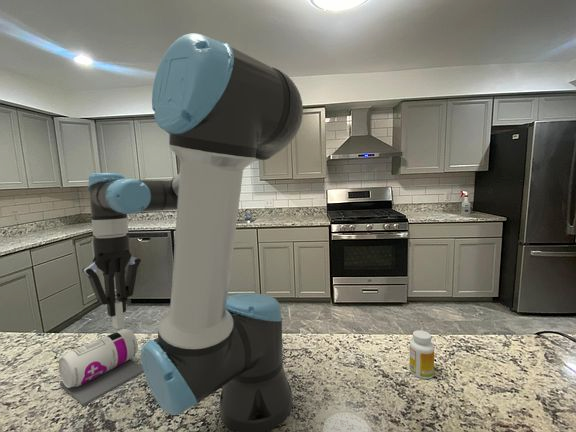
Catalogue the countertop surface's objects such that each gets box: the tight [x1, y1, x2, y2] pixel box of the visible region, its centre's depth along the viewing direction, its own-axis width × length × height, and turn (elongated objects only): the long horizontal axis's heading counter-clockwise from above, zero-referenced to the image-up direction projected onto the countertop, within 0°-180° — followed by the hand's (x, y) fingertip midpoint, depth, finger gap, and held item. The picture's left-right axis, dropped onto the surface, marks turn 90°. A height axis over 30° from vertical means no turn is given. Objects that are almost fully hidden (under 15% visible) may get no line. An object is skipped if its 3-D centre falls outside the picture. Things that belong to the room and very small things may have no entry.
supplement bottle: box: [409, 330, 435, 380], centre depth 67 cm, size 5×5×10 cm
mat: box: [59, 359, 144, 407], centre depth 68 cm, size 13×14×1 cm
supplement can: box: [58, 328, 139, 388], centre depth 70 cm, size 8×8×15 cm
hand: (118, 326), depth 71 cm, fingers closed
